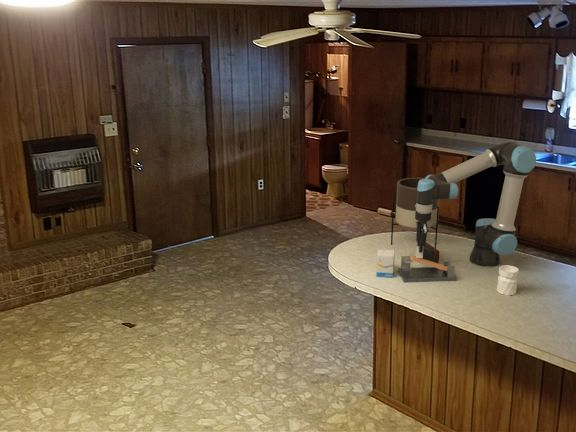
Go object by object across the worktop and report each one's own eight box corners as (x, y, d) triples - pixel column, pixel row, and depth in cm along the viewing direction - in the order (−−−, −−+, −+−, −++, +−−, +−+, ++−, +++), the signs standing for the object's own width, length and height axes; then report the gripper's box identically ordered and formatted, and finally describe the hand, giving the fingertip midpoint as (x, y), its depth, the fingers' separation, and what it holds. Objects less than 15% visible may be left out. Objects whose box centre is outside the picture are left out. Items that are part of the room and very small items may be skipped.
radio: (417, 255, 345) (419, 229, 341) (422, 255, 346) (424, 228, 342) (435, 268, 329) (437, 241, 324) (440, 268, 330) (442, 240, 325)
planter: (449, 242, 363) (454, 182, 352) (425, 255, 346) (429, 192, 335) (410, 232, 380) (413, 174, 369) (386, 243, 363) (388, 183, 352)
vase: (494, 288, 306) (496, 265, 302) (512, 288, 305) (515, 265, 301) (499, 296, 297) (501, 272, 293) (518, 296, 297) (521, 272, 293)
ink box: (393, 278, 318) (394, 256, 314) (376, 276, 320) (376, 255, 316) (394, 271, 326) (395, 249, 322) (377, 270, 328) (378, 248, 324)
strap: (448, 269, 319) (449, 266, 318) (450, 272, 315) (451, 270, 314) (409, 257, 316) (411, 254, 315) (412, 260, 311) (413, 258, 311)
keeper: (409, 267, 325) (410, 255, 323) (412, 273, 318) (413, 261, 316) (400, 268, 325) (401, 256, 323) (403, 273, 318) (404, 261, 316)
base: (448, 270, 326) (449, 256, 324) (456, 280, 314) (457, 266, 312) (398, 271, 325) (398, 258, 323) (403, 282, 313) (404, 268, 310)
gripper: (412, 207, 312) (408, 252, 319) (419, 215, 300) (415, 262, 307) (427, 207, 312) (423, 252, 320) (435, 215, 300) (430, 262, 308)
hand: (419, 257), depth 313 cm, fingers closed
